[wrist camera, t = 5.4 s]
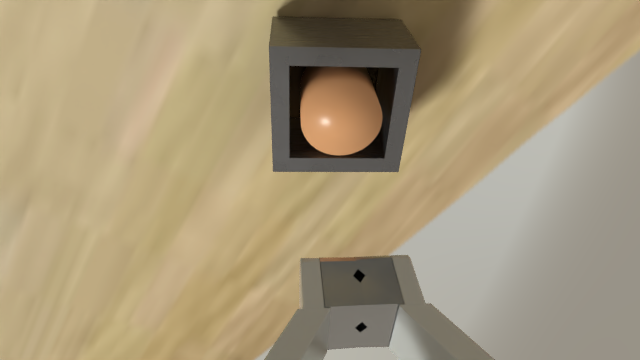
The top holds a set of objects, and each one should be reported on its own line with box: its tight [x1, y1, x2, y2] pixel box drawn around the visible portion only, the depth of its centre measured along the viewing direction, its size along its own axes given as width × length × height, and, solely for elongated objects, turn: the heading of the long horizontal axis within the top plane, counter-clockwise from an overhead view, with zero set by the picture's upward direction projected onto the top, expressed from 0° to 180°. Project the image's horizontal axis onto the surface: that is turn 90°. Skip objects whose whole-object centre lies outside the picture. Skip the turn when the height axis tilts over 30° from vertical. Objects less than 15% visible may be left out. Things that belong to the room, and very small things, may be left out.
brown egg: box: [300, 66, 382, 155], centre depth 20 cm, size 4×4×4 cm
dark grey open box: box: [269, 17, 421, 172], centre depth 21 cm, size 6×6×4 cm
